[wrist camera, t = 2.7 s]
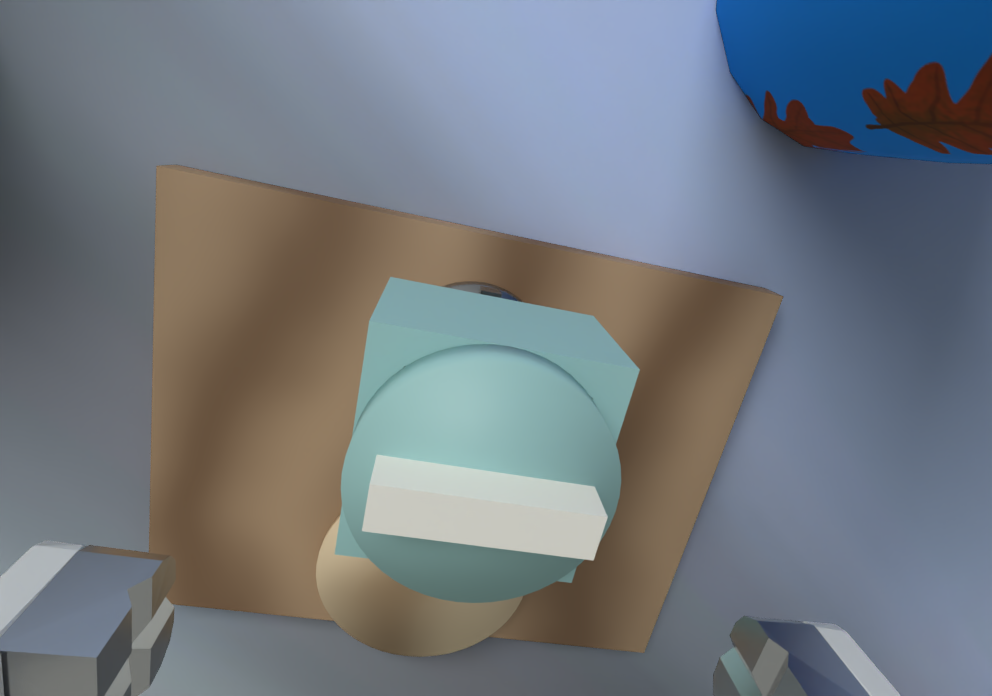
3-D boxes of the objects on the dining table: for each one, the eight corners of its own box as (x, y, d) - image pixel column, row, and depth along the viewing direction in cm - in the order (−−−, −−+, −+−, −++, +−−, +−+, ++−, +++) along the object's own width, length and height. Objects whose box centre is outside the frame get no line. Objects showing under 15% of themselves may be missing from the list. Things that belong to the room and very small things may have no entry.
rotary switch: (593, 315, 15) (676, 412, 10) (544, 487, 17) (591, 654, 11) (390, 276, 15) (351, 356, 9) (361, 461, 16) (313, 626, 11)
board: (764, 288, 20) (790, 299, 18) (629, 647, 25) (640, 678, 24) (175, 164, 17) (149, 165, 16) (163, 598, 22) (142, 630, 21)
